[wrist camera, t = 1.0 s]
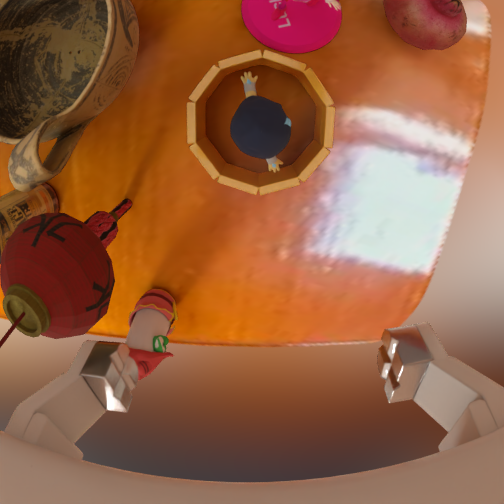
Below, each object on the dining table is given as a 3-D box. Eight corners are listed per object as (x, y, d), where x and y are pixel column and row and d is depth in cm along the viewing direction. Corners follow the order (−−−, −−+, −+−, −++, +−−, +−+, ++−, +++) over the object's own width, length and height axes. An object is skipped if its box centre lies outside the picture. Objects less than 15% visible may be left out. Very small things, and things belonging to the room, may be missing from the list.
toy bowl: (218, 43, 25) (211, 33, 20) (342, 87, 26) (357, 86, 22) (180, 156, 30) (167, 167, 26) (298, 195, 32) (304, 212, 28)
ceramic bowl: (187, 122, 29) (127, 146, 15) (58, 174, 31) (-29, 226, 18) (138, -51, 19) (72, -109, 5) (19, 20, 21) (-69, 15, 8)
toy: (191, 318, 40) (166, 413, 27) (135, 313, 40) (96, 400, 27) (187, 284, 37) (156, 380, 24) (128, 279, 37) (79, 366, 24)
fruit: (369, 42, 24) (413, 25, 15) (371, -22, 20) (411, -56, 11) (436, 63, 24) (494, 60, 15) (437, 1, 20) (490, -17, 11)
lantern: (160, 250, 35) (43, 511, 9) (89, 231, 34) (-69, 434, 8) (173, 172, 31) (-35, 446, 5) (95, 155, 30) (-143, 331, 4)
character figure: (293, 157, 30) (311, 193, 19) (253, 167, 31) (249, 208, 20) (267, 70, 26) (272, 52, 15) (226, 81, 27) (205, 71, 16)
